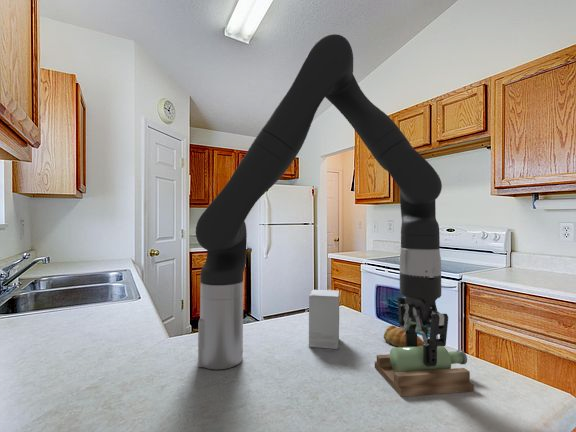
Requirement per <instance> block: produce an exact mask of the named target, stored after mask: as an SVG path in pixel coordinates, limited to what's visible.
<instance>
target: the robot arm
mask: <svg viewBox="0 0 576 432" xmlns="http://www.w3.org/2000/svg"><path fill="white" fill-rule="evenodd" d="M353 73H354V52H353V49H352V45H351V44H350V42H349V40H348V39H347V38H346V37H344V36H343V35H341V34H335V33H333V34H328V35H326V36H324V37H322V38H320V39H319V40H318V41H317V42H316V43H315V44H314V45H313V46H312V48H311V49H309V52H308V53H307V56H306V57H305V59H304V61H303V64H301V67H300V69H299V70H298V73H297V74H296V77H295V78H294V81H293V82H292V84H291V85H290V87H289V89H288V90H287V92H286V93H285V95H284V96H283V98H282V99H281V101H280V102H279V104H278V105H277V107H275V108H274V111H273V112H272V114H271V115H270V117H269V119H268V120H267V121H266V122H265V124H264V125H263V126H262V128H261V130H260V131H259V133H258V134H257V136H256V137H255V139H254V140H253V142H252V143H251V145H250V147H249V148H248V150H247V152H246V153H245V154H244V156H243V158H242V159H241V160H240V162H239V164H238V165H237V167H236V168H235V170H234V171H233V174H232V175H231V177H230V178H229V180H228V182H227V183H226V184H225V186H223V188H222V190H221V191H220V192H219V193H218V194H217V195H216V197H215V198H214V199H213V201H212V202H210V204H209V205H208V207H206V209H205V210H203V212H202V214H201V215H200V216H199V218H198V220H197V223H196V227H195V238H196V240H197V242H198V244H199V246H200V247H201V248H203V249H205V250H206V259H205V262H204V264H203V266H202V268H201V269H200V293H199V294H200V301H199V303H200V305H199V306H200V308H199V317H200V318H199V320H198V322H197V323H198V326H197V328H198V329H197V330H198V332H197V333H198V334H197V337H198V338H197V345H198V346H197V367H198V368H206V369H209V370H225V369H230V368H233V367H236V366H238V365H239V364H240V363H241V362H242V361H243V358H244V357H243V356H244V354H243V353H244V347H243V346H244V274H245V273H244V272H245V269H246V264H247V263H246V262H247V238H248V236H247V235H248V234H247V224H246V222H245V220H246V219H247V217H248V215H249V214H250V212H251V211H252V209H253V208H254V206H255V205H256V203H257V202H258V201H259V199H261V197H262V196H263V195H264V194H266V193H267V191H268V190H270V189H271V188H272V187H273V186H274V185H275V184H276V183H277V182H278V181H279V180H280V179H281V177H283V175H284V174H285V173H286V172H287V170H288V169H289V167H290V166H291V164H292V163H293V161H294V160H295V159H296V157H297V155H298V154H299V152H300V151H301V149H302V147H303V145H304V143H305V140H306V139H307V136H308V133H309V131H310V129H311V125H312V123H313V120H314V118H315V115H316V113H317V111H318V109H319V107H320V105H321V103H323V101H324V99H325V98H326V99H327V100H328V101H329V102H330V104H332V105H333V106H334V108H336V109H337V110H338V111H339V112H340V114H341V115H342V116H343V117H344V118H345V119H346V121H347V122H348V123H349V124H350V126H351V127H352V128H353V130H354V131H355V132H356V133H357V136H359V138H360V139H361V141H362V142H363V144H364V146H366V148H367V149H368V151H369V152H370V153H371V155H372V156H373V157H374V159H375V160H376V162H377V163H378V164H379V165H380V167H381V168H383V170H385V171H387V172H388V174H389V175H390V177H391V178H392V179H393V181H394V182H395V183H396V185H397V186H398V188H399V203H400V205H399V206H400V215H401V227H400V255H399V293H400V295H401V296H398V297H397V313H398V324H399V326H400V327H402V328H403V329H404V332H406V347H416V346H417V336H418V332H419V333H420V334H421V338H422V341H423V342H424V345H423V363H424V364H425V365H426V366H428V367H429V366H436V364H437V347H438V346H444V347H446V344H447V337H448V336H447V335H448V327H449V326H448V325H449V316H448V314H447V313H441V312H439V311H438V308H437V303H436V302H437V300H438V299H439V298H441V296H442V260H441V259H442V258H441V251H440V248H441V247H440V246H441V245H440V244H441V243H440V242H441V241H440V237H441V235H440V225H439V223H438V221H437V217H436V215H437V214H436V213H437V212H436V209H437V208H436V200H437V199H438V197H439V196H440V194H441V193H442V188H443V184H442V179H441V178H440V175H439V174H438V173H437V171H436V170H435V168H434V167H433V166H432V165H431V164H430V163H429V162H428V161H427V160H426V159H425V158H424V157H423V156H422V155H421V154H420V153H419V152H418V151H417V150H416V149H415V148H414V147H413V146H412V144H411V143H410V141H409V139H407V137H406V135H405V134H404V133H403V131H402V130H401V129H400V128H399V126H398V125H397V124H396V123H395V121H393V119H392V118H391V117H390V116H389V115H388V114H386V113H385V112H384V111H383V110H381V109H380V108H379V107H378V106H377V105H375V104H374V103H372V101H371V100H369V98H368V97H367V96H366V94H365V93H364V92H363V91H362V89H361V87H360V85H359V83H358V81H357V79H356V77H355V75H354V74H353ZM426 326H427V327H426ZM429 326H430V327H429ZM428 333H429V335H428ZM438 335H439V336H438Z"/></svg>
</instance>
